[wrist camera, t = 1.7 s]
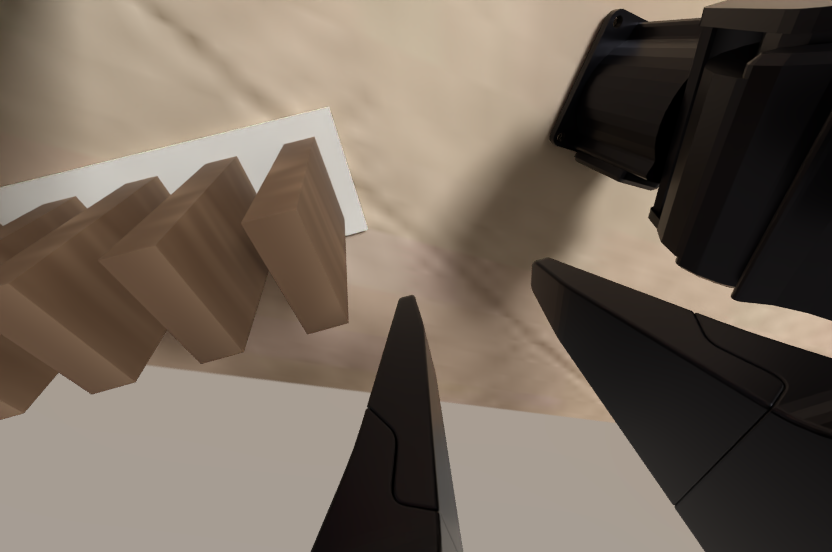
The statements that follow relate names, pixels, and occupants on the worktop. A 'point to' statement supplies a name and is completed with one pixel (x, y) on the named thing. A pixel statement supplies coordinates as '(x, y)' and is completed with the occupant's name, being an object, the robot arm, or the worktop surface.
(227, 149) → the rack
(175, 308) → the domino
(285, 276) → the domino
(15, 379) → the domino
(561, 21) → the worktop surface
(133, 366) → the domino
